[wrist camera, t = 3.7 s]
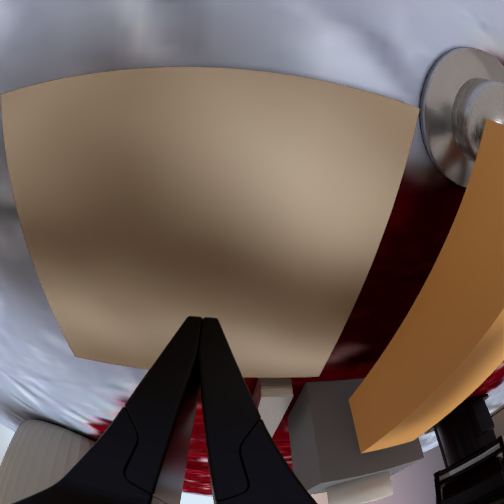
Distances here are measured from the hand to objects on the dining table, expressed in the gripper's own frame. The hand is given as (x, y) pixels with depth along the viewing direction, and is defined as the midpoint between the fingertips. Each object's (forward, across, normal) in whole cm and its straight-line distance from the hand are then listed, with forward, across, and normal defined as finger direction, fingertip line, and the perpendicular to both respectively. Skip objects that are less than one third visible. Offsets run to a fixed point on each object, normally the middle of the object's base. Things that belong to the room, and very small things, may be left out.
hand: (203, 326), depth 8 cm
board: (+2, +1, -1) cm, 3 cm away
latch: (0, -8, -1) cm, 8 cm away
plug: (+3, -8, +10) cm, 13 cm away
